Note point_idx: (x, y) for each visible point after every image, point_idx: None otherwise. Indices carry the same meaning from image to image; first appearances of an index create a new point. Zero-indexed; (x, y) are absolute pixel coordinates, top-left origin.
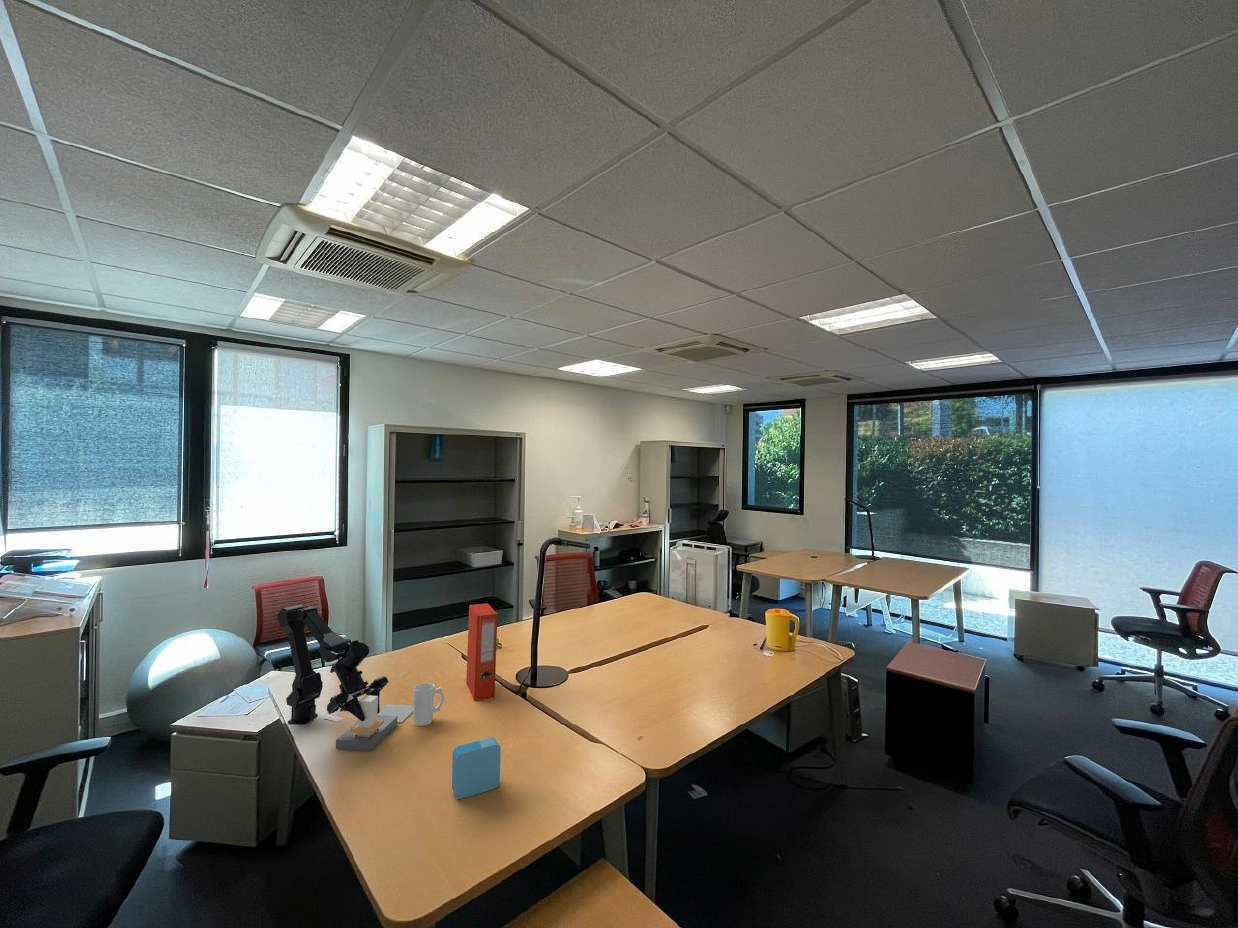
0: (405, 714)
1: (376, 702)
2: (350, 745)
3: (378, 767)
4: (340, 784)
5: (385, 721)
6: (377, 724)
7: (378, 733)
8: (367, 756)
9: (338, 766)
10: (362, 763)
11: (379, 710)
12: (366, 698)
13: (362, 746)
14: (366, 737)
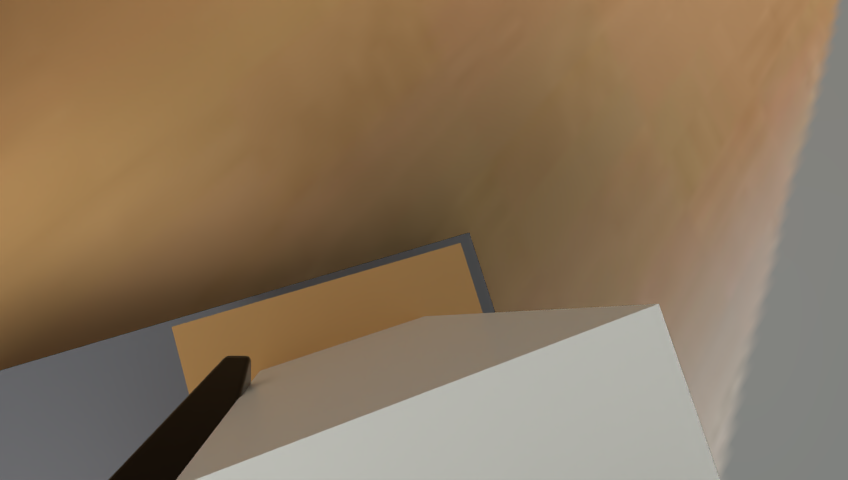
0: None
1: (293, 402)
2: None
3: (547, 38)
4: (739, 125)
5: (47, 443)
6: (318, 301)
7: (320, 279)
8: (493, 206)
9: (653, 292)
10: (563, 170)
11: (215, 369)
12: None
13: None
14: None
